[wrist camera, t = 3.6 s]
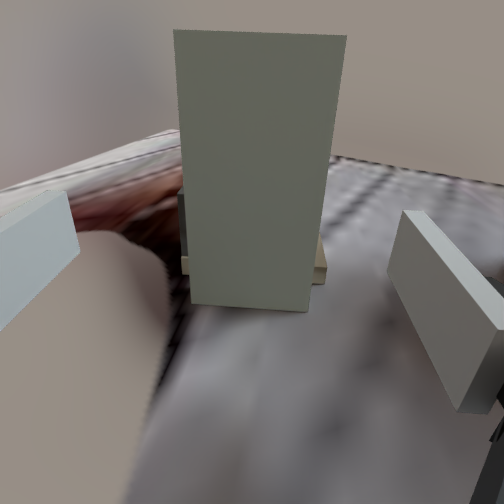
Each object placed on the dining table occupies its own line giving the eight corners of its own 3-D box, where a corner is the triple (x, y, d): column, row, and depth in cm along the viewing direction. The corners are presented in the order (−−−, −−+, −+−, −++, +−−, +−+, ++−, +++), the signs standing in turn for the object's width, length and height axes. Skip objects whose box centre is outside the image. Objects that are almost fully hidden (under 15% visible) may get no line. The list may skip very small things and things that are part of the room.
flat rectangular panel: (305, 286, 26) (337, 38, 18) (307, 312, 24) (347, 35, 16) (200, 279, 27) (188, 32, 19) (191, 303, 24) (173, 29, 16)
